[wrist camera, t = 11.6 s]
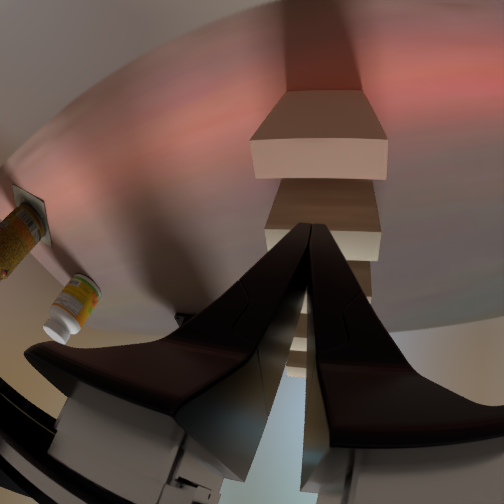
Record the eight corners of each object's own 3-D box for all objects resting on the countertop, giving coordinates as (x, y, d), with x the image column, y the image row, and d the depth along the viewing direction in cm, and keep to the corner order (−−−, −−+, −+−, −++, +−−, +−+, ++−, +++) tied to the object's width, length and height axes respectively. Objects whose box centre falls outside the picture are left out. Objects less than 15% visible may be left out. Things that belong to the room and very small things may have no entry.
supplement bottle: (97, 302, 43) (66, 351, 36) (71, 281, 41) (38, 328, 34) (106, 290, 40) (71, 343, 33) (77, 267, 38) (39, 318, 31)
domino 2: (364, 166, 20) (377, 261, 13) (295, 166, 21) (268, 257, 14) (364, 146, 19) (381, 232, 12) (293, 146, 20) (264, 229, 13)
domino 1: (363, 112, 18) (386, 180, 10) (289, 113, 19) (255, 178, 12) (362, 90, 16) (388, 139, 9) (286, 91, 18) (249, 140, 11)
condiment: (21, 226, 36) (-27, 280, 27) (12, 183, 30) (-47, 239, 22) (52, 246, 37) (3, 307, 28) (45, 201, 31) (-18, 266, 22)
